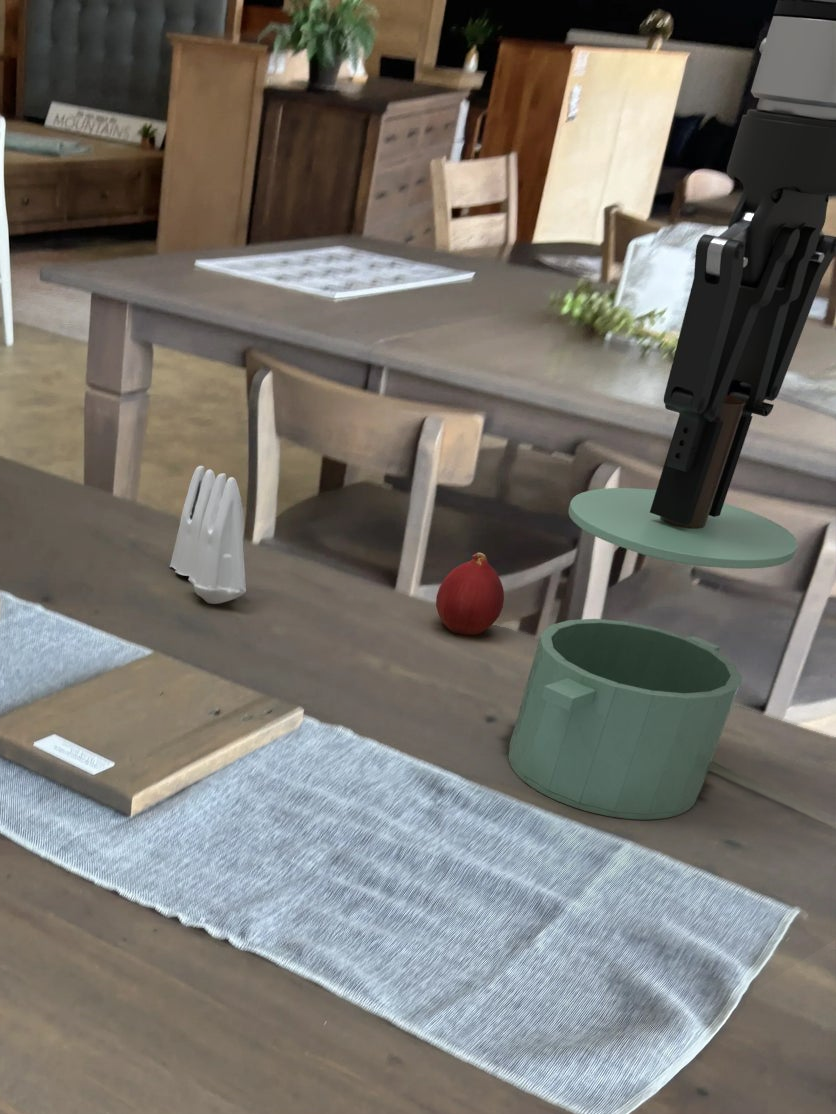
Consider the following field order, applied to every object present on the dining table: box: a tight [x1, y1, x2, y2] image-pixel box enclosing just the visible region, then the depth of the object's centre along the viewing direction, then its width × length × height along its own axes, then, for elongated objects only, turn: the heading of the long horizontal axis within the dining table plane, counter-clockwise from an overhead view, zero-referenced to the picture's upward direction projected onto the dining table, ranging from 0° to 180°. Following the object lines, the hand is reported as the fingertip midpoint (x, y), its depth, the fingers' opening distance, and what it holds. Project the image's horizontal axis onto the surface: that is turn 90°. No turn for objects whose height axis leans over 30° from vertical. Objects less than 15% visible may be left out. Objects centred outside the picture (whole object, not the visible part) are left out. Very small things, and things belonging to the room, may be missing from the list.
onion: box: [435, 552, 505, 636], centre depth 125 cm, size 6×6×8 cm
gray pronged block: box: [169, 465, 247, 605], centre depth 128 cm, size 12×4×11 cm, turn 12°
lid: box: [568, 395, 799, 570], centre depth 94 cm, size 15×15×9 cm
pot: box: [508, 618, 743, 821], centre depth 104 cm, size 14×19×10 cm
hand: (685, 513), depth 96 cm, fingers closed on lid, 3 cm apart
